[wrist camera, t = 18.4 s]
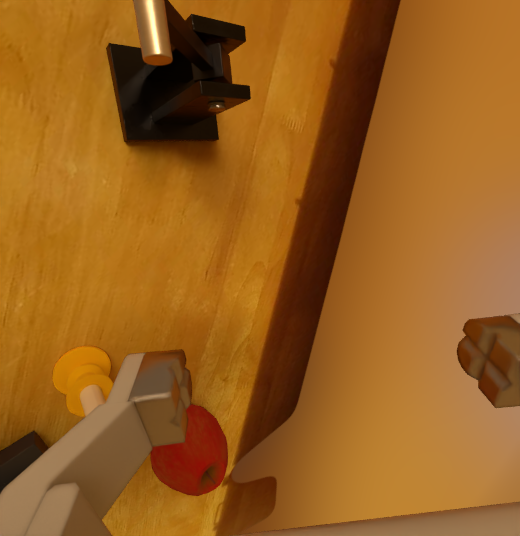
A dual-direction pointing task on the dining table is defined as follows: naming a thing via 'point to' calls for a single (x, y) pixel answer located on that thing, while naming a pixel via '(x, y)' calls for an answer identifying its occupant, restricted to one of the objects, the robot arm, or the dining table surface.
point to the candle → (83, 378)
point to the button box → (19, 457)
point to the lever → (178, 42)
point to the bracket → (174, 89)
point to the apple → (193, 456)
